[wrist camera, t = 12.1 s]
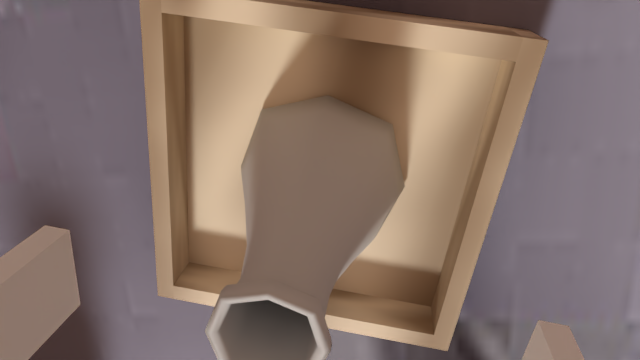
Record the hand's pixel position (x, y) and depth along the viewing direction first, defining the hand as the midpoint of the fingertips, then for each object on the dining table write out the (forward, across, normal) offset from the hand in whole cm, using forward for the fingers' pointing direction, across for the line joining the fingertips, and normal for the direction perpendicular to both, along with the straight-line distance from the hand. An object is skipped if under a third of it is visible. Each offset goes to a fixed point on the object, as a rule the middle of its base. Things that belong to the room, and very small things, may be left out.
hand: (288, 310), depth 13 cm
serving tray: (+9, 0, 0) cm, 9 cm away
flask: (+9, 0, 0) cm, 9 cm away
